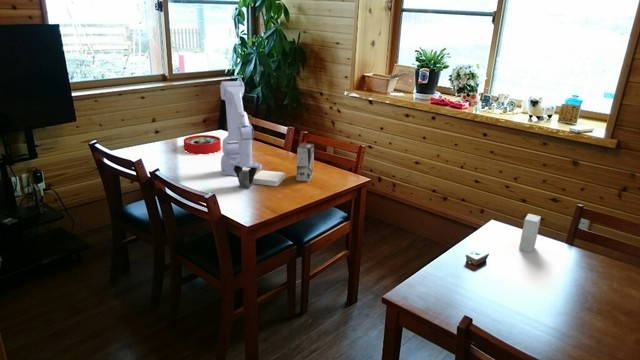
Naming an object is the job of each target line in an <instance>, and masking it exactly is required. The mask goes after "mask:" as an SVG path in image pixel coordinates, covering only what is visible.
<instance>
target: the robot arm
mask: <svg viewBox="0 0 640 360" xmlns="http://www.w3.org/2000/svg"><path fill="white" fill-rule="evenodd" d="M219 86H220V97H221V100H223V101H225V110H226V123H227V126H226V127H227V136H226V137H224V138H223V140H222V145H221V150H222V153H223V154H222V156H221V160H220V168H221V170H220V172H221V173H220V174H221V175H225V176H232V177H237V181H239V173H240V172H241V171H242V170H244V169H243V168H247V169H248V171H249V177H250V180H249V182H250V184H254V183H253V179H254V176H255V175H256V174H257V170H259V171H261V170H262V169H263V167H262V166H263V165H262V164H261V163H257V162H253V139H254V137H255V136H254V135H255V133H254V128H253V126H252V124H251V123H250V120H249V116H248V113H247V112H246V111H244V104H243V97H244V93H245V84H244V82H243V80H239V81H238V80H237V81H235V80H233V81H221V82H220V85H219Z"/></svg>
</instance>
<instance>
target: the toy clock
mask: <svg viewBox="0 0 640 360" xmlns="http://www.w3.org/2000/svg"><path fill="white" fill-rule="evenodd" d="M221 141H222V140H221V138H220V137H219V136H216V135H211V134H210V135H209V134H200V135H199V134H196V135H191V136H186V137H185V138H184V139H183V151H184V150H185V151H187V152H189V153H188V154H190V153H194V154H193V155H198V154H203V155H210V154H209V153H212V154H215V152H216V153H218V151H219V152H220V151H221V150H222V145H221V144H222V142H221ZM185 151H184V152H185ZM187 152H186V153H187Z"/></svg>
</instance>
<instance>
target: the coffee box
mask: <svg viewBox="0 0 640 360" xmlns="http://www.w3.org/2000/svg"><path fill="white" fill-rule="evenodd" d="M296 151H297V152H296V181H300V182H301V181H302V182H307V183H308V182H310V181H311V179H312V178H313V177H314V160H315V159H314V157H315V156H314V155H315V144H314V143H307V142H306V143H304V142H301V143H300V144H299V146H298V147H297V150H296Z"/></svg>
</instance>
